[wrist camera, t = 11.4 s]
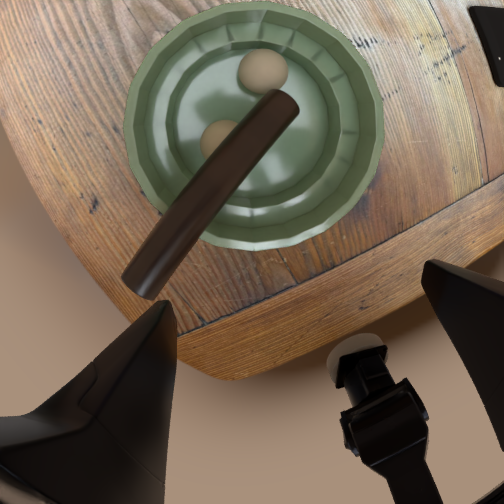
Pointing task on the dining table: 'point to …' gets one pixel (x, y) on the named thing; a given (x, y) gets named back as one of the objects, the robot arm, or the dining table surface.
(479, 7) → the cell phone
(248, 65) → the bead
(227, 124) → the bead
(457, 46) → the dining table surface
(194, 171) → the bowl
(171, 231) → the stick
